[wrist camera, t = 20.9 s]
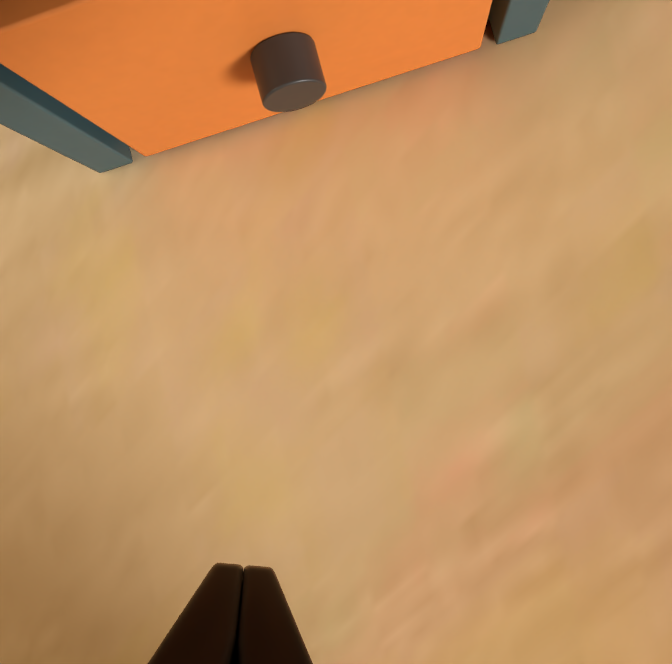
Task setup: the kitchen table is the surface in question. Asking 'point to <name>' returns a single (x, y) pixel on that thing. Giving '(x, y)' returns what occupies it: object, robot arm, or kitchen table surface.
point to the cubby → (109, 152)
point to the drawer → (221, 56)
